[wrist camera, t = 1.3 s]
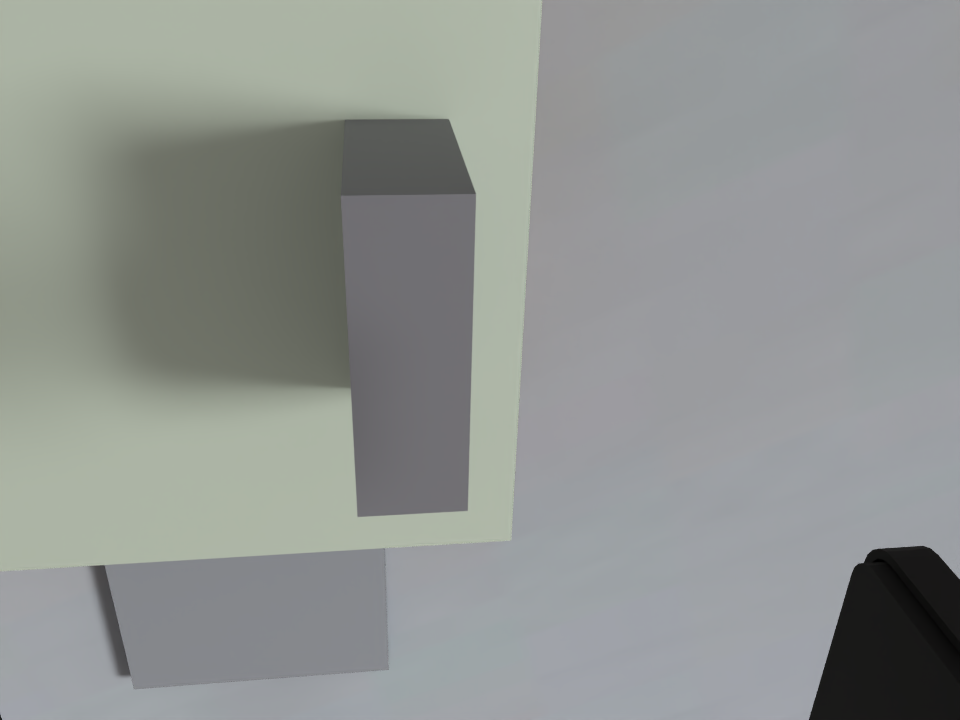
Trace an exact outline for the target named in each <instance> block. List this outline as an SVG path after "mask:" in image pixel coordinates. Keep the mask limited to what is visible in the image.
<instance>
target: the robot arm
mask: <svg viewBox="0 0 960 720" xmlns="http://www.w3.org/2000/svg"><path fill="white" fill-rule="evenodd" d="M0 720H2V718H1V715H0ZM809 720H960V579H959V578H958V577H957V576H956V575H955V574H954V573H953V571H952V570H951V569H950V568H949V567H948V566H947V565H946V563H945V562H944V561H943V560H942V559H941V558H940V557H939V555H938V554H936V553H935V552H934V551H933V550H932V549H930V548H928V547H925V546H915V547H900V548H885V549H875V550H872V551H871V552H870V553H869V554H868V555H867V557H866V559H865V561H864V563H861V564H858V565H857V566H855V568H854V570H853V572H852V575H851V578H850V582H849V585H848V588H847V592H846V595H845V599H844V602H843V605H842V609H841V612H840V616H839V619H838V623H837V626H836V629H835V633H834V636H833V640H832V643H831V646H830V650H829V653H828V657H827V660H826V663H825V667H824V670H823V674H822V677H821V681H820V684H819V687H818V691H817V694H816V698H815V701H814V704H813V708H812V711H811V715H810V718H809Z"/></svg>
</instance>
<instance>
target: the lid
mask: <svg viewBox="0 0 960 720" xmlns="http://www.w3.org/2000/svg"><path fill="white" fill-rule="evenodd" d="M541 13H542V0H0V571H14V570H30V569H47V568H63V567H80V566H97V565H113V564H130V563H146V562H163V561H180V560H196V559H213V558H229V557H246V556H263V555H279V554H296V553H312V552H329V551H346V550H362V549H379V548H395V547H412V546H429V545H445V544H462V543H478V542H495V541H511V534H512V516H513V499H514V482H515V464H516V447H517V429H518V412H519V395H520V377H521V360H522V343H523V325H524V308H525V290H526V273H527V256H528V238H529V221H530V204H531V186H532V169H533V152H534V134H535V117H536V99H537V82H538V65H539V47H540V30H541Z"/></svg>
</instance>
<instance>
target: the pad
mask: <svg viewBox="0 0 960 720" xmlns="http://www.w3.org/2000/svg"><path fill="white" fill-rule="evenodd" d="M105 569H106V574H107V578H108V582H109V586H110V590H111V595H112V599H113V603H114V607H115V611H116V615H117V620H118V624H119V628H120V632H121V636H122V641H123V645H124V649H125V653H126V657H127V661H128V666H129V670H130V674H131V678H132V682H133V687H134V689H144V688H157V687H170V686H183V685H196V684H209V683H222V682H235V681H248V680H261V679H274V678H287V677H300V676H313V675H326V674H340V673H353V672H366V671H379V670H389V668H388V639H387V609H386V579H385V549H384V548H379V549H362V550H346V551H329V552H312V553H296V554H279V555H263V556H246V557H229V558H213V559H196V560H180V561H163V562H146V563H130V564H113V565H105Z"/></svg>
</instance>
